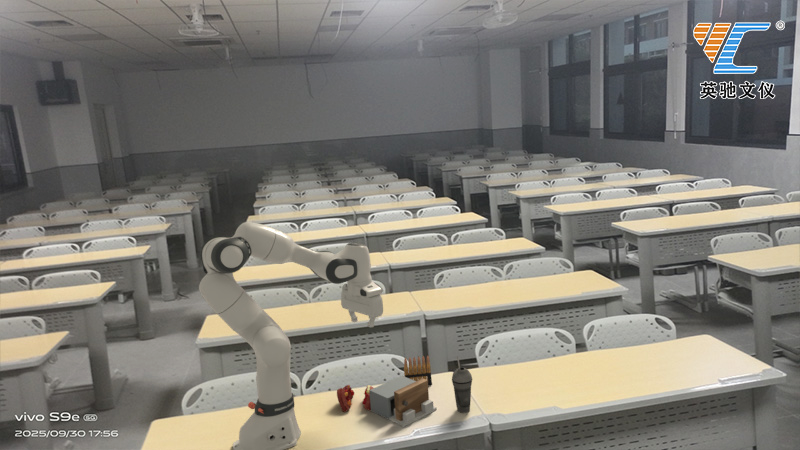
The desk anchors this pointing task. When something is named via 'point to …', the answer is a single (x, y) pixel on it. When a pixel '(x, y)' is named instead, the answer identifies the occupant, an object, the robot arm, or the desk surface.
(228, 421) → the desk surface
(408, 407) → the door
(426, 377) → the ammunition clip
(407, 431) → the desk surface
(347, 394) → the teeth
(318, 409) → the desk surface
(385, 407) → the cabinet
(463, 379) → the beverage cup
